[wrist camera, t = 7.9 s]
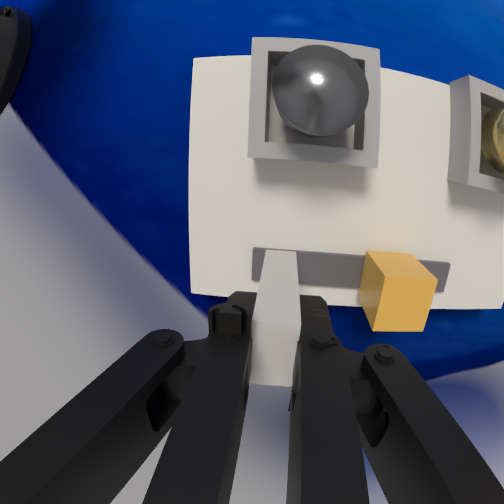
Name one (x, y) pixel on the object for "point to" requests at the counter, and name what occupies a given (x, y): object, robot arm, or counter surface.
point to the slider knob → (396, 291)
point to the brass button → (493, 138)
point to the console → (343, 182)
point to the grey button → (319, 91)
